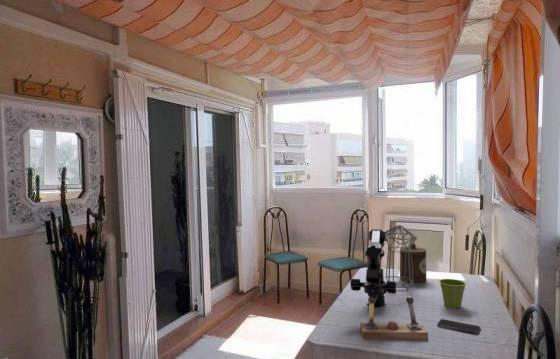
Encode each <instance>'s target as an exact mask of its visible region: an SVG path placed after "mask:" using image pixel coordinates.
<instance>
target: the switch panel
mask: <svg viewBox="0 0 560 359" xmlns="http://www.w3.org/2000/svg"><path fill="white" fill-rule="evenodd" d="M410 323H411V322H396V321H393V320H391V321H388V322H375V325H369V324H368V322H359V330H360V332H361V335H362V338H363V339H377V340H378V339H381V340H384V339H385V340H389V339H390V340H429V333H428V331H427V329H426V328H424V326H423V324H422V323H421V322H418V325H410Z"/></svg>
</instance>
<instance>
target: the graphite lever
mask: <svg viewBox="0 0 560 359" xmlns="http://www.w3.org/2000/svg"><path fill="white" fill-rule="evenodd" d="M405 301H406V303H407V305H408V306H407V307H408V311H409V315H410V322H409V323H410V325H418V323H419V322H417V320H416V314H415V307H414V298H413V296H407V297H406V299H405Z"/></svg>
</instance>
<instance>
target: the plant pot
mask: <svg viewBox="0 0 560 359" xmlns="http://www.w3.org/2000/svg"><path fill="white" fill-rule="evenodd" d="M438 283H439V284H440V288H441V294H442V299H443V305H444V306H446V307H447V308H452V309H456V308H458V309H460V308H461V307H462V304H463V296H464V291H465V288H466V286H467V283H466V282H465V281H463V280H459V279H453V278H441V279H439V280H438Z"/></svg>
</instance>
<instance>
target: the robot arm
mask: <svg viewBox="0 0 560 359" xmlns="http://www.w3.org/2000/svg"><path fill="white" fill-rule="evenodd" d="M368 241H370V242H369V243H368V244H367V248H365V251H364V255H365V257H366V263H367V264H366V265H367V267H366V275H365V281H364V282H362V281H361V278H351V279H350V281H349V282H350V289H351V291H357V292H359V291H361V290H362V289H361V288H363V290H364V293H365V294H367V296H368V298H369V297H370V296H373V297H374V298H375V302H374V308H378V309H379V308H381V307H384V306H386V305H387V303H386V302H385V294H387V293H388V294H397V291H396V290H397V288H396V287H397V284H396V282H397V281H395V280H394V281H393V280H389V281H387V280H386V281H385V280H384V269H383V268H382V258H384V256H386V255H385V251H384V249H383V248H384V246H385V242H387V241H386V231H384V230H382V229H381V228H371V229H370V231H368ZM366 304H367V305H368V306H369V302H366Z"/></svg>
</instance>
